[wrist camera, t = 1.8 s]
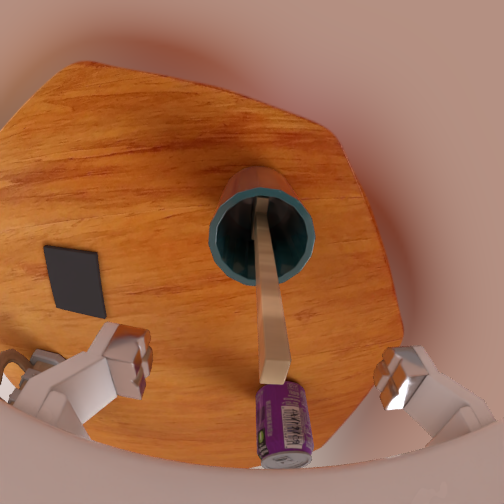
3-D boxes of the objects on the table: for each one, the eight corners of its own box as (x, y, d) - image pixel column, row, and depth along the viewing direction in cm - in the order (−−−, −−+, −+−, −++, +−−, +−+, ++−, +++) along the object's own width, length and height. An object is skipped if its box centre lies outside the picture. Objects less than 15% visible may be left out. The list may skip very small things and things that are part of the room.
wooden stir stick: (255, 183, 26) (269, 330, 8) (265, 184, 26) (301, 332, 8) (250, 218, 27) (253, 403, 9) (260, 219, 27) (279, 404, 9)
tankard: (102, 386, 39) (72, 458, 25) (78, 405, 43) (53, 464, 29) (10, 308, 33) (-40, 367, 19) (1, 340, 37) (-37, 392, 23)
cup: (226, 161, 26) (213, 182, 16) (298, 171, 26) (324, 196, 17) (219, 229, 28) (205, 280, 19) (286, 236, 29) (303, 290, 20)
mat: (45, 244, 29) (43, 246, 28) (97, 252, 29) (95, 254, 29) (58, 305, 32) (56, 307, 32) (106, 316, 33) (105, 319, 32)
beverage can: (246, 389, 38) (245, 461, 27) (289, 370, 36) (299, 446, 26) (271, 410, 41) (276, 476, 30) (312, 394, 39) (324, 461, 28)
